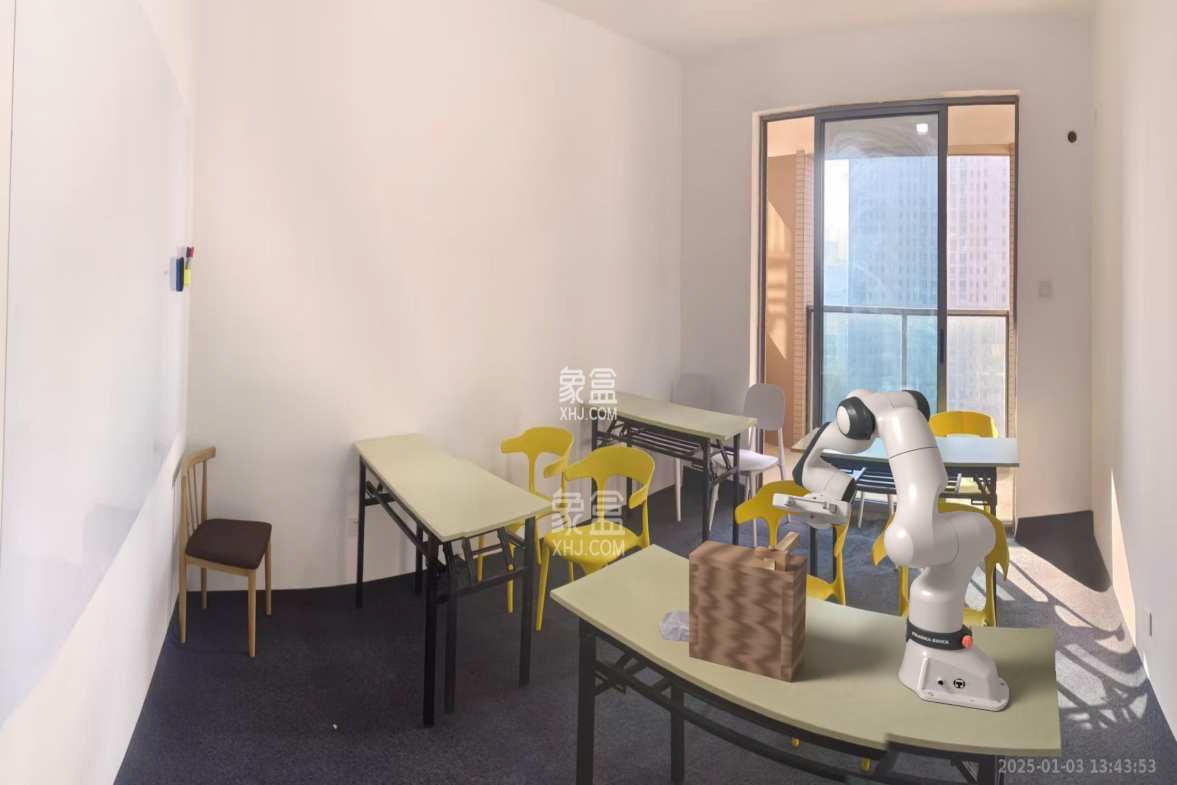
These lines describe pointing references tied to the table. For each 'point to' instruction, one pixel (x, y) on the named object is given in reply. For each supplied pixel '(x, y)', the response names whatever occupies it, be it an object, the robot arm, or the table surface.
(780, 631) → the wood grain box
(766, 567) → the marking gauge
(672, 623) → the lavender lumpy chunk
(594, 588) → the table surface
